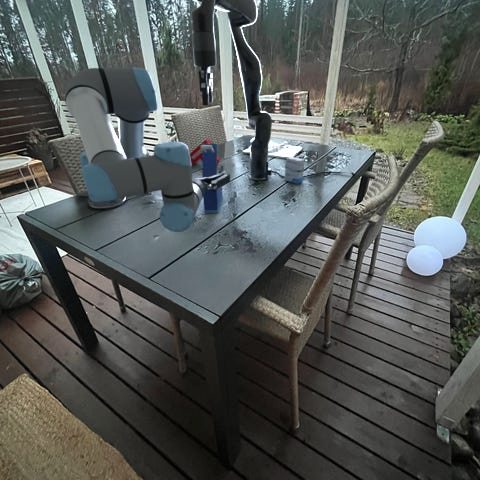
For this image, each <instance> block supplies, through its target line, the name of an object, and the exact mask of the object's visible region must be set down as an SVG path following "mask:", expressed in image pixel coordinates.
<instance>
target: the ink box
mask: <svg viewBox="0 0 480 480" xmlns="http://www.w3.org/2000/svg"><path fill="white" fill-rule="evenodd" d="M305 162H306V159H304V158H299V157H296V156H294V157H289V158H287V159H286V158H285V169H284V176H285V178H284V181H285V182H289V183H293V184H295V185H298V184H300V183H302V182H303V180H304V178H303V176H304V173H305V171H304V170H305Z"/></svg>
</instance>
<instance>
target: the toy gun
mask: <svg viewBox="0 0 480 480" xmlns="http://www.w3.org/2000/svg"><path fill="white" fill-rule="evenodd" d="M203 143H210V144H214V143H213V142H212V141H211V140H210V138H207V139H205V140H204V141H203V142H201V144H199V145H198V146H197V147H195V149H193V150H192V151H191V152H189V153H190V158H191V163H192V165H195V163H197V162H199V161H200V160H201V161H202V154H203V150H202V149H201V145H203ZM220 161H221V158H220V157H219V156H218V155H217V165H219V164H220Z"/></svg>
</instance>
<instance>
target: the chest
mask: <svg viewBox="0 0 480 480" xmlns="http://www.w3.org/2000/svg"><path fill="white" fill-rule="evenodd" d="M202 200H203V211H204V214H219V211H220V208H221V204H222V200H223V186H222V187H220V188H219V189H217V191H216V192H213V191H212V189H207V190H206V191H205V193H204V196H203V198H202Z"/></svg>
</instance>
